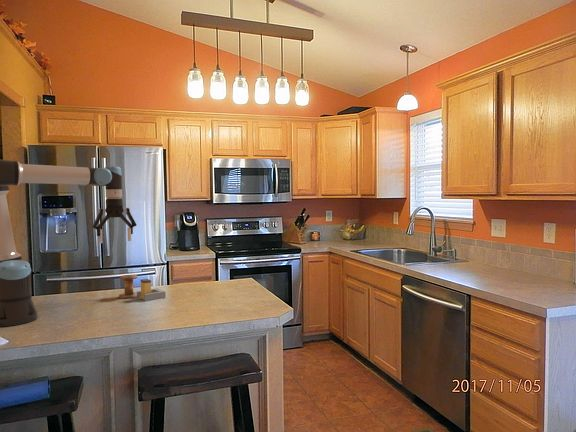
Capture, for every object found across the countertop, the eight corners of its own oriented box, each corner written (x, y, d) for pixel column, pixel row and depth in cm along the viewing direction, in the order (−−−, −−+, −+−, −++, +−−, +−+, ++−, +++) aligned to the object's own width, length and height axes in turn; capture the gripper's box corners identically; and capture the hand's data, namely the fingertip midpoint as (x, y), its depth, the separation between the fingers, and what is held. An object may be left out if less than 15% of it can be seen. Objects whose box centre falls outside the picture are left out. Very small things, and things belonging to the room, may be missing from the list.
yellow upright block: (145, 300, 196) (144, 281, 195) (141, 298, 199) (140, 279, 199) (151, 299, 198) (150, 280, 197) (147, 297, 201) (146, 278, 201)
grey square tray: (145, 301, 193) (144, 294, 193) (137, 297, 201) (136, 291, 201) (165, 297, 200) (165, 291, 200) (157, 294, 207) (156, 288, 207)
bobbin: (122, 299, 197) (122, 278, 196) (116, 296, 204) (115, 276, 203) (141, 296, 203) (141, 276, 202) (134, 293, 210) (134, 273, 209)
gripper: (88, 198, 191) (90, 244, 192) (142, 198, 208) (143, 240, 208) (84, 198, 197) (85, 243, 198) (136, 198, 213) (138, 239, 214)
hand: (115, 242), depth 203 cm, fingers open, 13 cm apart
